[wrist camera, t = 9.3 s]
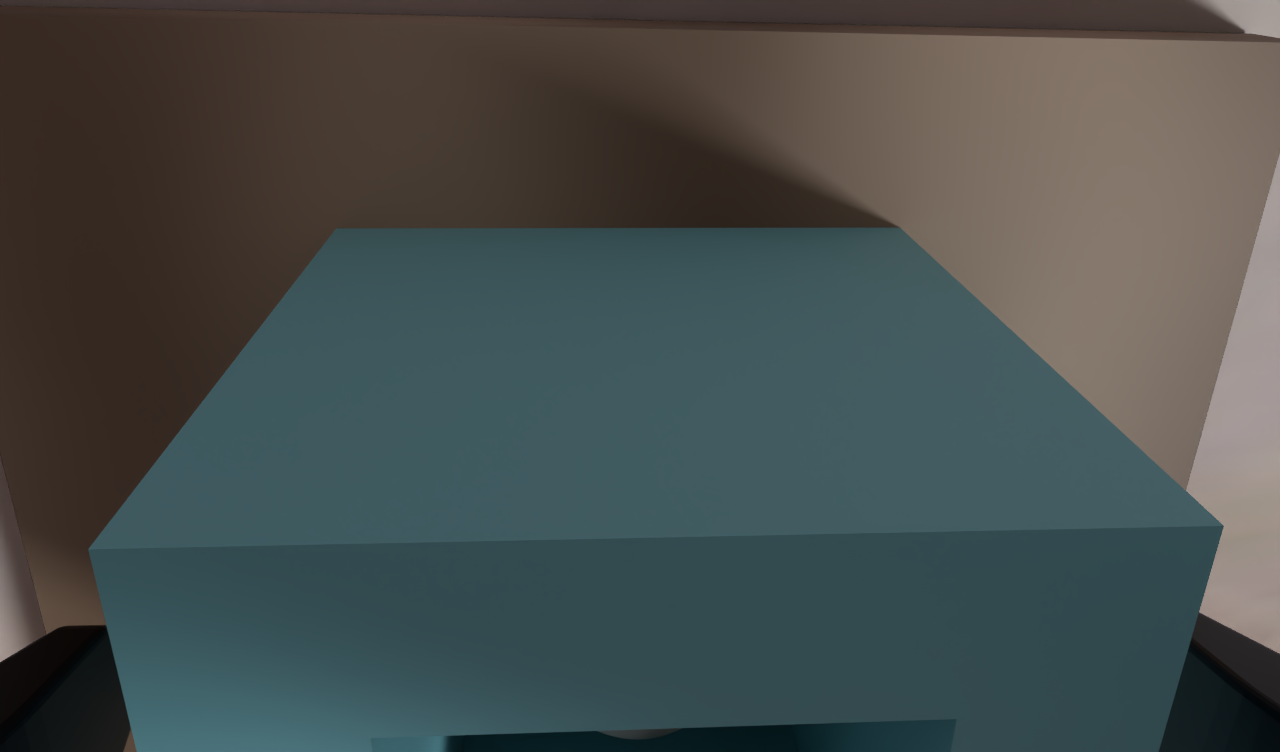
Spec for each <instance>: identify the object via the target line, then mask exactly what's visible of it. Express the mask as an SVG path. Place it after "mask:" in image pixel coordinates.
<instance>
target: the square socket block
mask: <svg viewBox="0 0 1280 752" xmlns="http://www.w3.org/2000/svg"><path fill="white" fill-rule="evenodd" d="M1223 527H1224V526H1223V525H1222V524H1221V523H1220V522H1219V521H1218V520H1217V519H1216V518H1215V517H1214V516H1212V515H1211V514H1210V513H1209V512H1208V511H1207V510H1206V509H1205V508H1204V507H1203V506H1202V505H1201V504H1199V503H1198V502H1197V501H1196V500H1195V499H1194V498H1193V497H1192V496H1191V495H1190V494H1189V493H1188V492H1186V491H1185V490H1184V489H1183V488H1182V487H1181V486H1180V485H1179V484H1178V483H1177V482H1176V481H1174V480H1173V479H1172V478H1171V477H1170V476H1169V475H1168V474H1167V473H1166V472H1165V471H1164V470H1163V469H1161V468H1160V467H1159V466H1158V465H1157V464H1156V463H1155V462H1154V461H1153V460H1152V459H1151V458H1150V457H1148V456H1147V455H1146V454H1145V453H1144V452H1143V451H1142V450H1141V449H1140V448H1139V447H1138V446H1137V445H1135V444H1134V443H1133V442H1132V441H1131V440H1130V439H1129V438H1128V437H1127V436H1126V435H1125V434H1123V433H1122V432H1121V431H1120V430H1119V429H1118V428H1117V427H1116V426H1115V425H1114V424H1113V423H1112V422H1110V421H1109V420H1108V419H1107V418H1106V417H1105V416H1104V415H1103V414H1102V413H1101V412H1100V411H1099V410H1097V409H1096V408H1095V407H1094V406H1093V405H1092V404H1091V403H1090V402H1089V401H1088V400H1087V399H1085V398H1084V397H1083V396H1082V395H1081V394H1080V393H1079V392H1078V391H1077V390H1076V389H1075V388H1074V387H1072V386H1071V385H1070V384H1069V383H1068V382H1067V381H1066V380H1065V379H1064V378H1063V377H1062V376H1061V375H1059V374H1058V373H1057V372H1056V371H1055V370H1054V369H1053V368H1052V367H1051V366H1050V365H1049V364H1048V363H1046V362H1045V361H1044V360H1043V359H1042V358H1041V357H1040V356H1039V355H1038V354H1037V353H1036V352H1034V351H1033V350H1032V349H1031V348H1030V347H1029V346H1028V345H1027V344H1026V343H1025V342H1024V341H1023V340H1021V339H1020V338H1019V337H1018V336H1017V335H1016V334H1015V333H1014V332H1013V331H1012V330H1011V329H1010V328H1008V327H1007V326H1006V325H1005V324H1004V323H1003V322H1002V321H1001V320H1000V319H999V318H998V317H997V316H995V315H994V314H993V313H992V312H991V311H990V310H989V309H988V308H987V307H986V306H985V305H983V304H982V303H981V302H980V301H979V300H978V299H977V298H976V297H975V296H974V295H973V294H972V293H970V292H969V291H968V290H967V289H966V288H965V287H964V286H963V285H962V284H961V283H960V282H959V281H957V280H956V279H955V278H954V277H953V276H952V275H951V274H950V273H949V272H948V271H947V270H946V269H944V268H943V267H942V266H941V265H940V264H939V263H938V262H937V261H936V260H935V259H934V258H932V257H931V256H930V255H929V254H928V253H927V252H926V251H925V250H924V249H923V248H922V247H921V246H919V245H918V244H917V243H916V242H915V241H914V240H913V239H912V238H911V237H910V236H909V235H908V234H906V233H905V232H904V231H903V230H902V229H901V228H336V229H335V231H334V232H333V233H332V235H331V236H330V237H329V238H328V240H327V241H326V242H325V244H324V245H323V246H322V248H321V249H320V250H319V251H318V253H317V254H316V255H315V257H314V258H313V259H312V260H311V262H310V263H309V264H308V266H307V267H306V268H305V270H304V271H303V272H302V273H301V275H300V276H299V277H298V279H297V280H296V281H295V282H294V284H293V285H292V286H291V288H290V289H289V290H288V292H287V293H286V294H285V295H284V297H283V298H282V299H281V301H280V302H279V303H278V304H277V306H276V307H275V308H274V310H273V311H272V312H271V314H270V315H269V316H268V317H267V319H266V320H265V321H264V323H263V324H262V325H261V326H260V328H259V329H258V330H257V332H256V333H255V334H254V335H253V337H252V338H251V339H250V341H249V342H248V343H247V345H246V346H245V347H244V348H243V350H242V351H241V352H240V354H239V355H238V356H237V357H236V359H235V360H234V361H233V363H232V364H231V365H230V367H229V368H228V369H227V370H226V372H225V373H224V374H223V376H222V377H221V378H220V379H219V381H218V382H217V383H216V385H215V386H214V387H213V389H212V390H211V391H210V392H209V394H208V395H207V396H206V398H205V399H204V400H203V401H202V403H201V404H200V405H199V407H198V408H197V409H196V411H195V412H194V413H193V414H192V416H191V417H190V418H189V420H188V421H187V422H186V423H185V425H184V426H183V427H182V429H181V430H180V431H179V433H178V434H177V435H176V436H175V438H174V439H173V440H172V442H171V443H170V444H169V445H168V447H167V448H166V449H165V451H164V452H163V453H162V455H161V456H160V457H159V458H158V460H157V461H156V462H155V464H154V465H153V466H152V467H151V469H150V470H149V471H148V473H147V474H146V475H145V477H144V478H143V479H142V480H141V482H140V483H139V484H138V486H137V487H136V488H135V489H134V491H133V492H132V493H131V495H130V496H129V497H128V499H127V500H126V501H125V502H124V504H123V505H122V506H121V508H120V509H119V510H118V511H117V513H116V514H115V515H114V517H113V518H112V519H111V521H110V522H109V523H108V524H107V526H106V527H105V528H104V530H103V531H102V532H101V533H100V535H99V536H98V537H97V539H96V540H95V541H94V543H93V544H92V545H91V546H90V548H89V549H88V551H89V555H90V559H91V563H92V567H93V571H94V576H95V580H96V584H97V588H98V592H99V597H100V601H101V605H102V609H103V613H104V617H105V622H106V626H107V630H108V634H109V638H110V642H111V647H112V651H113V655H114V659H115V663H116V667H117V672H118V676H119V680H120V684H121V688H122V692H123V697H124V701H125V705H126V709H127V713H128V717H129V722H130V726H131V730H132V734H133V738H134V742H135V747H136V751H137V752H1159V749H1160V745H1161V742H1162V738H1163V735H1164V731H1165V728H1166V724H1167V721H1168V717H1169V714H1170V711H1171V707H1172V704H1173V700H1174V697H1175V693H1176V690H1177V686H1178V683H1179V679H1180V676H1181V672H1182V669H1183V665H1184V662H1185V658H1186V655H1187V652H1188V648H1189V645H1190V641H1191V638H1192V634H1193V631H1194V627H1195V624H1196V620H1197V617H1198V613H1199V610H1200V606H1201V603H1202V599H1203V596H1204V593H1205V589H1206V586H1207V582H1208V579H1209V575H1210V572H1211V568H1212V565H1213V561H1214V558H1215V554H1216V551H1217V547H1218V544H1219V540H1220V537H1221V534H1222V530H1223ZM669 728H681V729H679V730H677V731H675V732H672V733H670V734H667V735H664V736H660V737H656V738H651V739H640V740H638V739H624V738H618V737H614V736H610V735H606V734H604V733H601V732H598V731H608V730H639V729H669Z"/></svg>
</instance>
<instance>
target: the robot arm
mask: <svg viewBox="0 0 1280 752" xmlns="http://www.w3.org/2000/svg"><path fill="white" fill-rule="evenodd" d="M130 731H131V726H130V722H129V717H128V713H127V709H126V705H125V701H124V697H123V692H122V688H121V684H120V680H119V676H118V672H117V667H116V663H115V659H114V655H113V651H112V647H111V642H110V638H109V634H108V630H107V626H106V625H71V626H63V627H59V628H57V629H55V630H53V631H52V632H50V633H48V634H47V635H45V636H43V637H42V638H40V639H38V640H37V641H35V642H33V643H32V644H30V645H28V646H27V647H25V648H23V649H22V650H20V651H18V652H17V653H15V654H13V655H12V656H10V657H8V658H7V659H5V660H3V661H2V662H0V752H124V749H125V746H126V743H127V740H128V737H129V734H130ZM1159 752H1280V654H1279V653H1277V652H1275V651H1273V650H1271V649H1269V648H1267V647H1265V646H1263V645H1261V644H1260V643H1258V642H1256V641H1254V640H1252V639H1250V638H1248V637H1246V636H1244V635H1242V634H1240V633H1238V632H1236V631H1234V630H1232V629H1230V628H1228V627H1226V626H1224V625H1223V624H1221V623H1219V622H1217V621H1215V620H1213V619H1211V618H1209V617H1207V616H1205V615H1203V614H1201V613H1198V617H1197V620H1196V624H1195V627H1194V631H1193V634H1192V638H1191V641H1190V645H1189V648H1188V652H1187V655H1186V658H1185V662H1184V665H1183V669H1182V672H1181V676H1180V679H1179V683H1178V686H1177V690H1176V693H1175V697H1174V700H1173V704H1172V707H1171V711H1170V714H1169V717H1168V721H1167V724H1166V728H1165V731H1164V735H1163V738H1162V742H1161V745H1160V749H1159Z"/></svg>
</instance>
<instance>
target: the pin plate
mask: <svg viewBox="0 0 1280 752" xmlns="http://www.w3.org/2000/svg"><path fill="white" fill-rule="evenodd" d="M1279 153H1280V38H1275V37H1268V36H1262V35H1256V34H1241V33H1196V32H1152V31H1107V30H1062V29H1017V28H972V27H928V26H883V25H838V24H793V23H748V22H704V21H659V20H614V19H569V18H524V17H479V16H435V15H390V14H345V13H300V12H256V11H211V10H166V9H121V8H76V7H31V6H0V456H1V459H2V463H3V467H4V471H5V475H6V479H7V483H8V487H9V491H10V495H11V498H12V502H13V506H14V510H15V514H16V518H17V522H18V526H19V530H20V534H21V537H22V541H23V545H24V549H25V553H26V557H27V561H28V565H29V569H30V573H31V576H32V580H33V584H34V588H35V592H36V596H37V600H38V604H39V608H40V612H41V615H42V619H43V623H44V627H45V631H46V635H47V634H48V633H50V632H52V631H53V630H55V629H57V628H59V627H63V626H71V625H106V622H105V617H104V613H103V609H102V605H101V601H100V597H99V592H98V588H97V584H96V580H95V576H94V571H93V567H92V563H91V559H90V555H89V551H88V549H89V548H90V546H91V545H92V544H93V543H94V541H95V540H96V539H97V537H98V536H99V535H100V533H101V532H102V531H103V530H104V528H105V527H106V526H107V524H108V523H109V522H110V521H111V519H112V518H113V517H114V515H115V514H116V513H117V511H118V510H119V509H120V508H121V506H122V505H123V504H124V502H125V501H126V500H127V499H128V497H129V496H130V495H131V493H132V492H133V491H134V489H135V488H136V487H137V486H138V484H139V483H140V482H141V480H142V479H143V478H144V477H145V475H146V474H147V473H148V471H149V470H150V469H151V467H152V466H153V465H154V464H155V462H156V461H157V460H158V458H159V457H160V456H161V455H162V453H163V452H164V451H165V449H166V448H167V447H168V445H169V444H170V443H171V442H172V440H173V439H174V438H175V436H176V435H177V434H178V433H179V431H180V430H181V429H182V427H183V426H184V425H185V423H186V422H187V421H188V420H189V418H190V417H191V416H192V414H193V413H194V412H195V411H196V409H197V408H198V407H199V405H200V404H201V403H202V401H203V400H204V399H205V398H206V396H207V395H208V394H209V392H210V391H211V390H212V389H213V387H214V386H215V385H216V383H217V382H218V381H219V379H220V378H221V377H222V376H223V374H224V373H225V372H226V370H227V369H228V368H229V367H230V365H231V364H232V363H233V361H234V360H235V359H236V357H237V356H238V355H239V354H240V352H241V351H242V350H243V348H244V347H245V346H246V345H247V343H248V342H249V341H250V339H251V338H252V337H253V335H254V334H255V333H256V332H257V330H258V329H259V328H260V326H261V325H262V324H263V323H264V321H265V320H266V319H267V317H268V316H269V315H270V314H271V312H272V311H273V310H274V308H275V307H276V306H277V304H278V303H279V302H280V301H281V299H282V298H283V297H284V295H285V294H286V293H287V292H288V290H289V289H290V288H291V286H292V285H293V284H294V282H295V281H296V280H297V279H298V277H299V276H300V275H301V273H302V272H303V271H304V270H305V268H306V267H307V266H308V264H309V263H310V262H311V260H312V259H313V258H314V257H315V255H316V254H317V253H318V251H319V250H320V249H321V248H322V246H323V245H324V244H325V242H326V241H327V240H328V238H329V237H330V236H331V235H332V233H333V232H334V231H335V229H336V228H901V229H902V230H903V231H904V232H905V233H906V234H908V235H909V236H910V237H911V238H912V239H913V240H914V241H915V242H916V243H917V244H918V245H919V246H921V247H922V248H923V249H924V250H925V251H926V252H927V253H928V254H929V255H930V256H931V257H932V258H934V259H935V260H936V261H937V262H938V263H939V264H940V265H941V266H942V267H943V268H944V269H946V270H947V271H948V272H949V273H950V274H951V275H952V276H953V277H954V278H955V279H956V280H957V281H959V282H960V283H961V284H962V285H963V286H964V287H965V288H966V289H967V290H968V291H969V292H970V293H972V294H973V295H974V296H975V297H976V298H977V299H978V300H979V301H980V302H981V303H982V304H983V305H985V306H986V307H987V308H988V309H989V310H990V311H991V312H992V313H993V314H994V315H995V316H997V317H998V318H999V319H1000V320H1001V321H1002V322H1003V323H1004V324H1005V325H1006V326H1007V327H1008V328H1010V329H1011V330H1012V331H1013V332H1014V333H1015V334H1016V335H1017V336H1018V337H1019V338H1020V339H1021V340H1023V341H1024V342H1025V343H1026V344H1027V345H1028V346H1029V347H1030V348H1031V349H1032V350H1033V351H1034V352H1036V353H1037V354H1038V355H1039V356H1040V357H1041V358H1042V359H1043V360H1044V361H1045V362H1046V363H1048V364H1049V365H1050V366H1051V367H1052V368H1053V369H1054V370H1055V371H1056V372H1057V373H1058V374H1059V375H1061V376H1062V377H1063V378H1064V379H1065V380H1066V381H1067V382H1068V383H1069V384H1070V385H1071V386H1072V387H1074V388H1075V389H1076V390H1077V391H1078V392H1079V393H1080V394H1081V395H1082V396H1083V397H1084V398H1085V399H1087V400H1088V401H1089V402H1090V403H1091V404H1092V405H1093V406H1094V407H1095V408H1096V409H1097V410H1099V411H1100V412H1101V413H1102V414H1103V415H1104V416H1105V417H1106V418H1107V419H1108V420H1109V421H1110V422H1112V423H1113V424H1114V425H1115V426H1116V427H1117V428H1118V429H1119V430H1120V431H1121V432H1122V433H1123V434H1125V435H1126V436H1127V437H1128V438H1129V439H1130V440H1131V441H1132V442H1133V443H1134V444H1135V445H1137V446H1138V447H1139V448H1140V449H1141V450H1142V451H1143V452H1144V453H1145V454H1146V455H1147V456H1148V457H1150V458H1151V459H1152V460H1153V461H1154V462H1155V463H1156V464H1157V465H1158V466H1159V467H1160V468H1161V469H1163V470H1164V471H1165V472H1166V473H1167V474H1168V475H1169V476H1170V477H1171V478H1172V479H1173V480H1174V481H1176V482H1177V483H1178V484H1179V485H1180V486H1181V487H1182V488H1183V489H1184V490H1185V491H1186V488H1187V484H1188V481H1189V477H1190V473H1191V470H1192V466H1193V463H1194V459H1195V455H1196V452H1197V448H1198V445H1199V441H1200V437H1201V434H1202V430H1203V427H1204V423H1205V419H1206V416H1207V412H1208V409H1209V405H1210V401H1211V398H1212V394H1213V391H1214V387H1215V383H1216V380H1217V376H1218V373H1219V369H1220V365H1221V362H1222V358H1223V355H1224V351H1225V347H1226V344H1227V340H1228V337H1229V333H1230V329H1231V326H1232V322H1233V319H1234V315H1235V311H1236V308H1237V304H1238V301H1239V297H1240V293H1241V290H1242V286H1243V283H1244V279H1245V275H1246V272H1247V268H1248V265H1249V261H1250V257H1251V254H1252V250H1253V247H1254V243H1255V239H1256V236H1257V232H1258V229H1259V225H1260V221H1261V218H1262V214H1263V211H1264V207H1265V203H1266V200H1267V196H1268V193H1269V189H1270V185H1271V182H1272V178H1273V175H1274V171H1275V167H1276V164H1277V160H1278V157H1279ZM679 729H681V728H669V729H639V730H608V731H598V732H601V733H604V734H606V735H610V736H614V737H618V738H624V739H638V740H640V739H651V738H656V737H660V736H664V735H667V734H670V733H672V732H675V731H677V730H679ZM124 752H137V751H136V747H135V742H134V738H133V734H132V730H131V731H130V734H129V737H128V740H127V743H126V746H125V749H124Z"/></svg>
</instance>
